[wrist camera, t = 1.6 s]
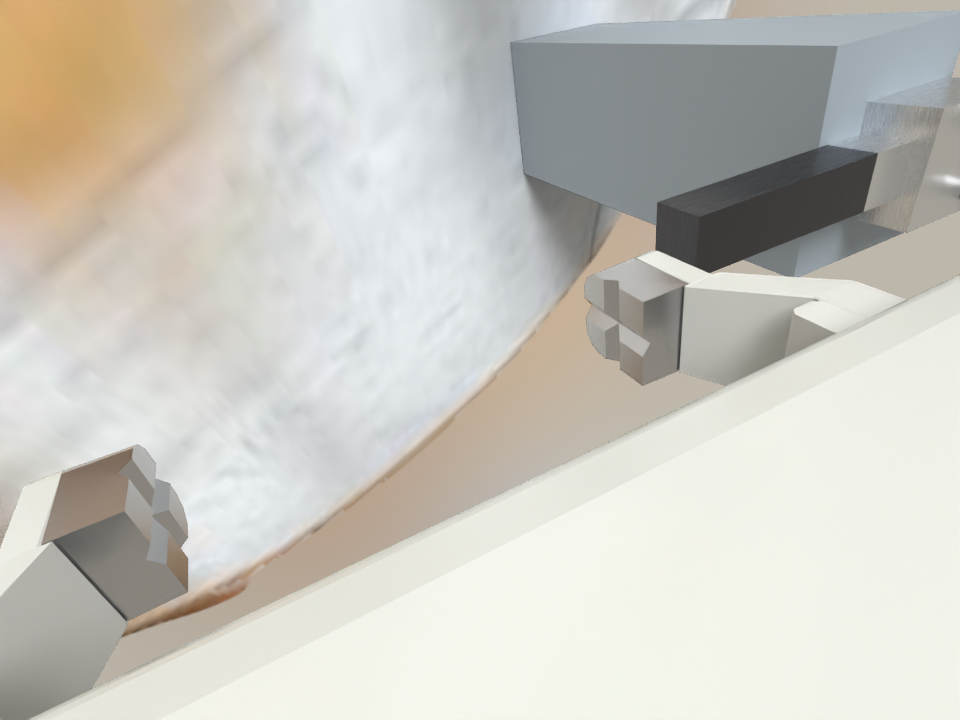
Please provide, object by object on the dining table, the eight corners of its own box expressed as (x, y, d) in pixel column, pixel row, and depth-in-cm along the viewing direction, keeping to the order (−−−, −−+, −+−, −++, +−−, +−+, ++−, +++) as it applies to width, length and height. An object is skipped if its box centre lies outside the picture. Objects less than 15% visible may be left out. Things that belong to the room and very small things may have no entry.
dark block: (654, 288, 23) (733, 330, 20) (658, 167, 20) (751, 192, 17) (912, 187, 27) (1012, 207, 24) (944, 76, 25) (1062, 82, 21)
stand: (523, 173, 48) (793, 279, 27) (510, 42, 42) (838, 45, 21) (600, 150, 50) (904, 232, 29) (597, 23, 44) (971, 9, 23)
